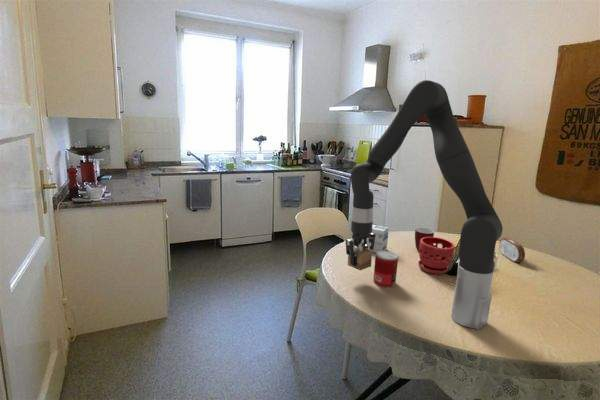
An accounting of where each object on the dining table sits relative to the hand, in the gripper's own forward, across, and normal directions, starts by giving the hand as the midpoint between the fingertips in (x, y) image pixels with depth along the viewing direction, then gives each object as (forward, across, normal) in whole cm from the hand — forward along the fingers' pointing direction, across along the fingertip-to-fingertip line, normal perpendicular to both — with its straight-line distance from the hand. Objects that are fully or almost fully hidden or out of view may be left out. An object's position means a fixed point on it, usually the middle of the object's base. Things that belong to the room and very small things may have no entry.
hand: (359, 263), depth 130 cm
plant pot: (+8, +33, -12) cm, 36 cm away
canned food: (+7, +7, -6) cm, 12 cm away
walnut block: (+1, 0, 0) cm, 1 cm away
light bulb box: (+7, +31, +18) cm, 36 cm away
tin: (+8, +73, -26) cm, 78 cm away
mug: (+7, +48, +4) cm, 49 cm away
